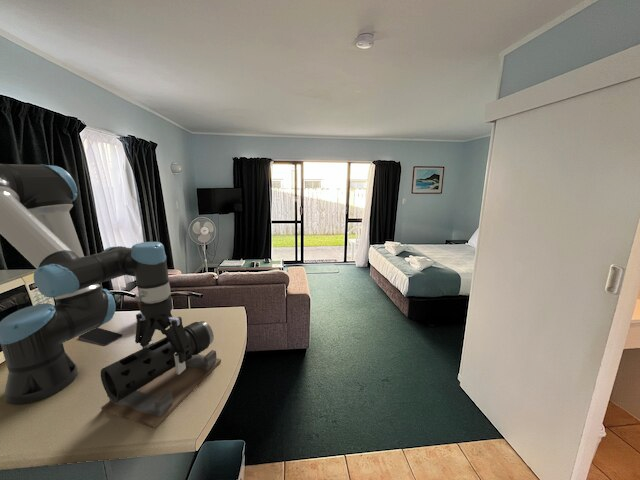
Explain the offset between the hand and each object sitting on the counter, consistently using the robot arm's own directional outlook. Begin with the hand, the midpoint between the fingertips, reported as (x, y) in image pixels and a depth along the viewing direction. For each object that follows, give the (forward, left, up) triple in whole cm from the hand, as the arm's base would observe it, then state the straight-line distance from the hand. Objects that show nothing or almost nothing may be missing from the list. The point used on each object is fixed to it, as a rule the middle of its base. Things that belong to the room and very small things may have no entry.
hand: (166, 367), depth 81 cm
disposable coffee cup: (-38, +29, -6) cm, 48 cm away
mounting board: (0, 0, -5) cm, 5 cm away
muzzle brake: (0, 0, -2) cm, 2 cm away
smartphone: (-44, +12, -6) cm, 46 cm away
